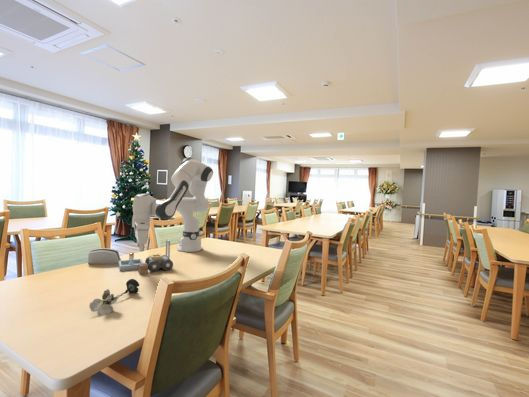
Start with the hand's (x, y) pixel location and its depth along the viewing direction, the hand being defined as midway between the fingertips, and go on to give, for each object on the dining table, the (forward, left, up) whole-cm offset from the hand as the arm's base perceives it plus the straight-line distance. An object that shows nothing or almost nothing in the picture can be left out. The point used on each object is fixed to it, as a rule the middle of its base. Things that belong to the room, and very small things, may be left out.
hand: (140, 248), depth 146 cm
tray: (-10, -3, -12) cm, 16 cm away
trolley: (-1, +10, -12) cm, 16 cm away
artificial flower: (+39, -12, -13) cm, 43 cm away
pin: (-10, -3, -12) cm, 16 cm away
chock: (+3, +1, -12) cm, 13 cm away
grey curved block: (-24, -16, -13) cm, 31 cm away
